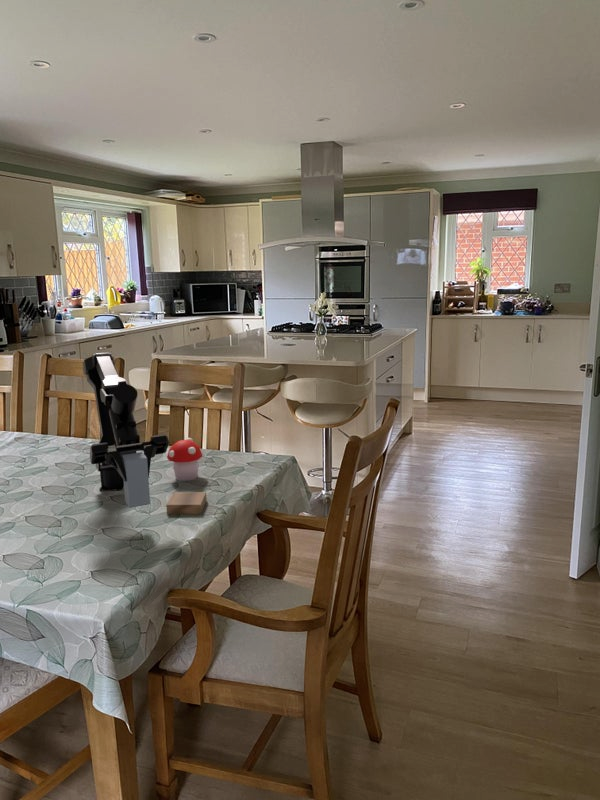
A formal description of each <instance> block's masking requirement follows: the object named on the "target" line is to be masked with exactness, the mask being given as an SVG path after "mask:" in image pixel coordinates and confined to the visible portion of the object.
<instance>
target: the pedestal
mask: <svg viewBox="0 0 600 800" xmlns="http://www.w3.org/2000/svg"><path fill="white" fill-rule="evenodd" d="M207 501H208V500H207V491H202V492H201V491H198V492H197V491H195V492H194V491H192V492H190V491H187V492H186V491H183V492H182V491H180V492H178V491H177V492H176V491H175V492H173V493H172V495H171V496H170V498H169V500H168V501H167V503H166V514H167V515H199V514H200V515H201V514H202V513H201V512H203V511H204V508H205V505H206V503H207Z"/></svg>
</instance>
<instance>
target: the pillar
mask: <svg viewBox="0 0 600 800" xmlns="http://www.w3.org/2000/svg"><path fill="white" fill-rule="evenodd" d="M122 462H123V465H124V469H125V472H126V477H127V481H126V482H125V481H124V487H123V490H124V491H123V492H124V501H125V503H126V504H127V506H128V507H129V509H132V508H137V507H138V508H139V507H143V506H147V505H151V494H150V480H149V478H148V464H147V457H146V456H145V455H144V452H143V451H142V452H141V451H140V452H139V451H138V452H136V453H133V454H126V455H122Z"/></svg>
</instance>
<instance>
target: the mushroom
mask: <svg viewBox="0 0 600 800" xmlns="http://www.w3.org/2000/svg"><path fill="white" fill-rule="evenodd" d="M193 440H194V439H193V438H191V437H187V438H186V439H182V440H178V441H176V442H175V443H173V444H172V445H171V446H170V447H169V450H168V453H167V456H166V459H167V460H168V461H169V462H173V466H172V467H173V472H174V475H175V479H176V481H177V480H178V481H184V482H185V481H193V480H195V479H198V475H199V474H198V473H199V467H200V466H199V464H200V463H199V460H200V459H201V458H202V457H203V453H202V449H201V448H200V445H199V444H197V443H196V442H194V441H193Z"/></svg>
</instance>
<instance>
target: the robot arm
mask: <svg viewBox="0 0 600 800" xmlns="http://www.w3.org/2000/svg"><path fill="white" fill-rule="evenodd" d="M82 371H83V375H84V376H86V378H85V379H86V381H87V383H88V385H90V386H91V388H92V389H93V391H94V399H95V405H96V410H97V411H96V412H97V418H98V423H99V430H100V439H99V442H98V443H93V444H92V445H91V446H90V447H89V448H90V449H89V461H90V464H91V465H95V468H96V470H97V471H98V472H99V474H100V475H99V476H100V477H99V478H100V483H101V484H100V485H101V486H100V488H98V489H99V491H101V492H102V491H122V490H124V481H125V482H126V481H127V477H126V472H125V469H124V465H123V462H122V455H126V454H133V453H137V452H139V451H140V452H141V451H142V453H143V454H144V455H145V456H146V457H147V464H148V479H149V477H150V470H151V464H152V463H151V462H152V458H155V457H156V455H161V454H163V455H164V454H166V453H167V451H168V447H169V444H170V440H169V436H168V435H166V434H165V433H164V434H156V435H151V436H150V439H149V441H144V442H141V440H140V439H141V438H140V435H139V432H138V427H137V421H136V420H135V416H134V411H135V408H136V404H137V399H138V391H137V389H136V388H135V387H134V386H132V385H130V384H129V383H128V381H127V380H126V379H125V378H123V377H120V375H119V374H118V371H117V370H116V365H115V358H114V357H113V356H112V353H111V352H97V353H94V354H91V356H89V357H87V358H85V359H84V360H83V362H82Z"/></svg>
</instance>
